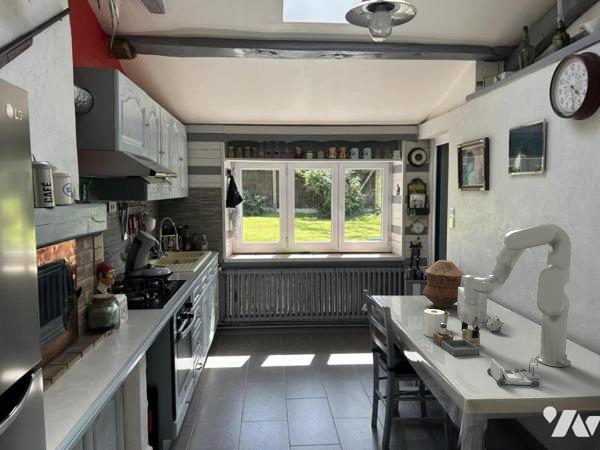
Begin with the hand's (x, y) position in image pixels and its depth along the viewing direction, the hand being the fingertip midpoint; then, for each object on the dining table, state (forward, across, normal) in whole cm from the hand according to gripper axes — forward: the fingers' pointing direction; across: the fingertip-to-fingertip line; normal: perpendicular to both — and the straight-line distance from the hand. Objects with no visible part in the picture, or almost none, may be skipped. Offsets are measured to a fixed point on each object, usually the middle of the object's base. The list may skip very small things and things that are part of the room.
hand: (469, 334), depth 215 cm
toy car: (+4, +44, -6) cm, 44 cm away
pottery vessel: (+5, -68, +20) cm, 71 cm away
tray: (+4, +10, -11) cm, 15 cm away
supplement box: (+4, -38, +23) cm, 45 cm away
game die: (+4, -14, +22) cm, 27 cm away
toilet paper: (+5, -14, -12) cm, 19 cm away
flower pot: (+5, -24, -4) cm, 24 cm away
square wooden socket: (+4, 0, -14) cm, 14 cm away
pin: (+4, 0, -14) cm, 14 cm away
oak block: (+4, 0, 0) cm, 4 cm away
